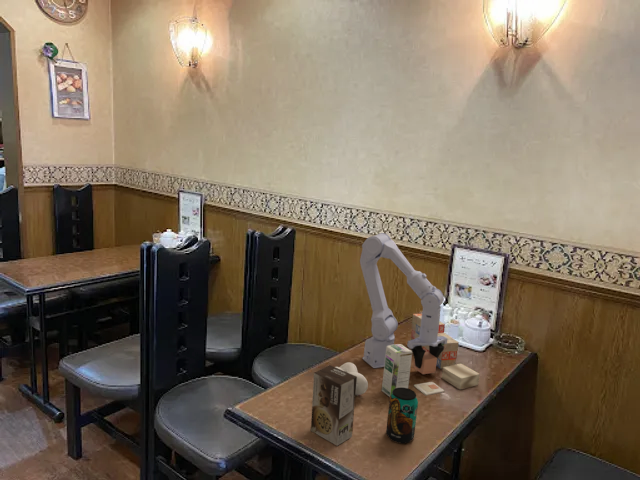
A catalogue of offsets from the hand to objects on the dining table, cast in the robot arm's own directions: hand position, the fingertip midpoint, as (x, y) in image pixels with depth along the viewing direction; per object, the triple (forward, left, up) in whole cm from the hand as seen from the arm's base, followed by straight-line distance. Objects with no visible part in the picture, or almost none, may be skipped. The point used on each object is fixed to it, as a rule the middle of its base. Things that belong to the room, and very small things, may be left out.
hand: (424, 365), depth 155 cm
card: (-5, -9, -3) cm, 11 cm away
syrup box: (-17, -8, -3) cm, 19 cm away
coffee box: (-44, -20, -3) cm, 48 cm away
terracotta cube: (0, 0, -1) cm, 1 cm away
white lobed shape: (-32, -4, -3) cm, 32 cm away
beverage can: (-28, -27, -3) cm, 39 cm away
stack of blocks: (+12, +11, -3) cm, 17 cm away
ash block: (+8, -8, -3) cm, 12 cm away
